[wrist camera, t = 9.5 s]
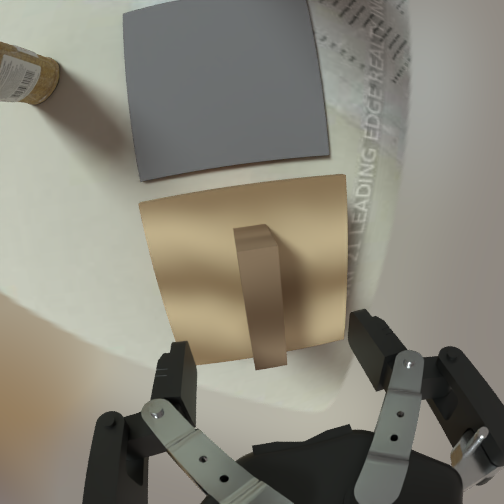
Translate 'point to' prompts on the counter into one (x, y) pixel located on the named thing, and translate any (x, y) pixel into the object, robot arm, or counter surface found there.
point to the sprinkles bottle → (26, 75)
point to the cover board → (214, 264)
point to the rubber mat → (222, 84)
